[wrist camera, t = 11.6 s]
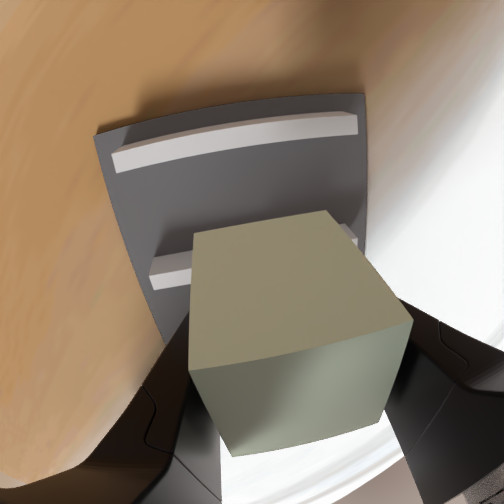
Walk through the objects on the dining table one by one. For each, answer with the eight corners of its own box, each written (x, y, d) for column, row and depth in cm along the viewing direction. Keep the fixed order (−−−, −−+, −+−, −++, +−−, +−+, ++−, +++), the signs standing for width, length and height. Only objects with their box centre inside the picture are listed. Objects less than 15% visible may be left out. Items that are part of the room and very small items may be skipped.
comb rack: (355, 318, 24) (366, 338, 22) (171, 353, 23) (170, 376, 21) (361, 93, 15) (381, 95, 13) (95, 134, 15) (79, 143, 13)
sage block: (326, 309, 11) (378, 422, 7) (219, 330, 11) (232, 456, 7) (325, 209, 9) (413, 319, 5) (194, 233, 9) (188, 370, 5)
